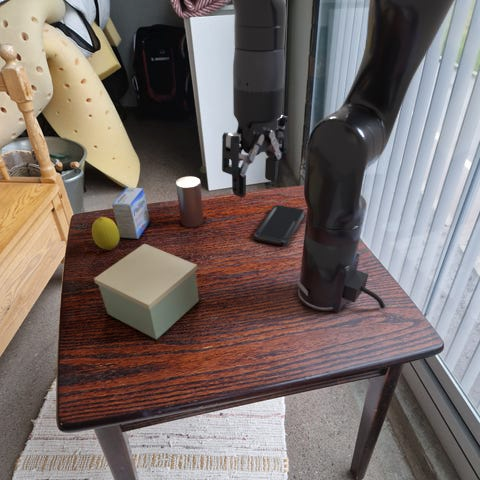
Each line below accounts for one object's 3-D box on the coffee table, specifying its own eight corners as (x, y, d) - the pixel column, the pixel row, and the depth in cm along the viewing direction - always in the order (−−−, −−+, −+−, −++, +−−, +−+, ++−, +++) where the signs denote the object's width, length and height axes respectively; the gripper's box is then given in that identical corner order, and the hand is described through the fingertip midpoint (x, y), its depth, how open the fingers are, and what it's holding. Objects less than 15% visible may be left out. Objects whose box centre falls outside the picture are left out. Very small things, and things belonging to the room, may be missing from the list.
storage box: (201, 300, 80) (197, 264, 74) (156, 341, 72) (148, 305, 66) (151, 278, 85) (144, 243, 79) (105, 314, 77) (93, 278, 72)
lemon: (92, 254, 91) (82, 221, 86) (106, 240, 95) (97, 208, 90) (114, 259, 90) (105, 226, 84) (127, 245, 94) (119, 213, 88)
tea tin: (208, 219, 101) (205, 180, 94) (194, 229, 98) (189, 189, 91) (190, 213, 103) (186, 174, 96) (176, 223, 100) (170, 183, 93)
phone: (252, 235, 93) (275, 203, 103) (252, 239, 94) (275, 208, 104) (286, 242, 91) (306, 209, 101) (286, 247, 92) (305, 214, 102)
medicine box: (138, 239, 95) (130, 205, 89) (119, 237, 96) (111, 203, 90) (150, 221, 101) (144, 187, 95) (133, 220, 101) (125, 186, 95)
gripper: (246, 97, 56) (245, 208, 67) (306, 78, 64) (297, 180, 75) (206, 87, 60) (211, 194, 71) (268, 71, 68) (264, 169, 79)
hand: (255, 187), depth 73 cm, fingers open, 8 cm apart
